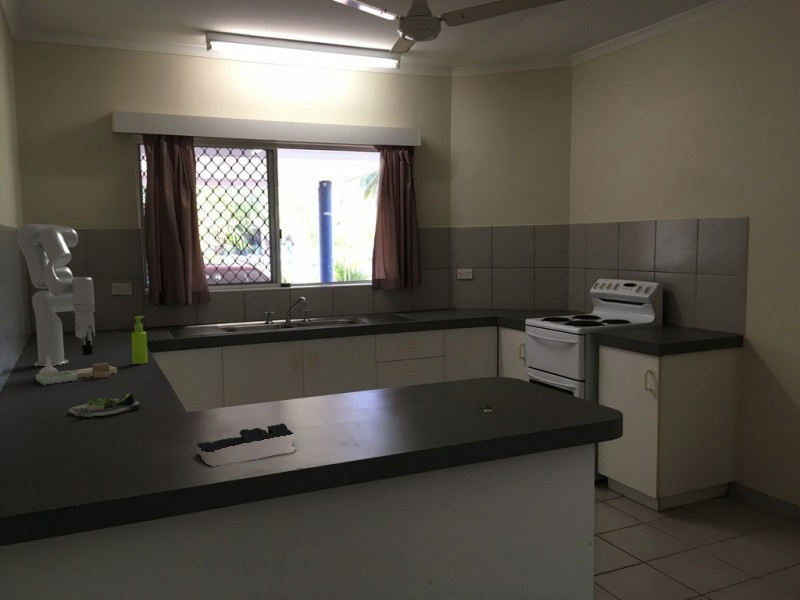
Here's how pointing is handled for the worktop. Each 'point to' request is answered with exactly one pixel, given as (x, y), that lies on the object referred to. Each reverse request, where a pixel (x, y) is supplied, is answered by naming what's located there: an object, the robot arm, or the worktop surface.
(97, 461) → the worktop surface
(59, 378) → the dish
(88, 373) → the board
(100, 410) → the salad plate
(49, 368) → the garlic bulb
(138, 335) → the soap dispenser
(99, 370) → the block
